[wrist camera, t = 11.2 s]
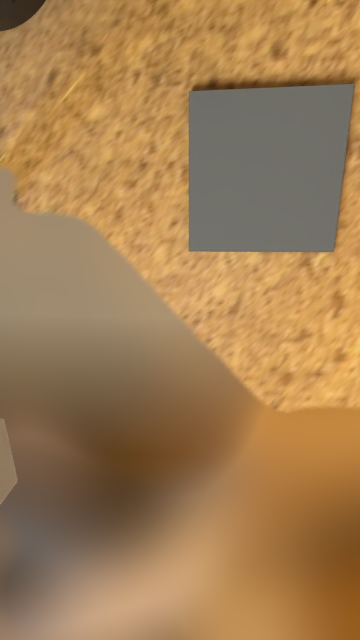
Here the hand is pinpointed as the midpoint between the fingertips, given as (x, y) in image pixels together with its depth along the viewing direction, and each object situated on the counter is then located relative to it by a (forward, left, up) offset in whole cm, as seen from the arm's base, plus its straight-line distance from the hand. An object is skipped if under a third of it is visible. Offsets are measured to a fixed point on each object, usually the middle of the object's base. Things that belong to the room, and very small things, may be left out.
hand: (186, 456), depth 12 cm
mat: (-12, +6, -31) cm, 34 cm away
